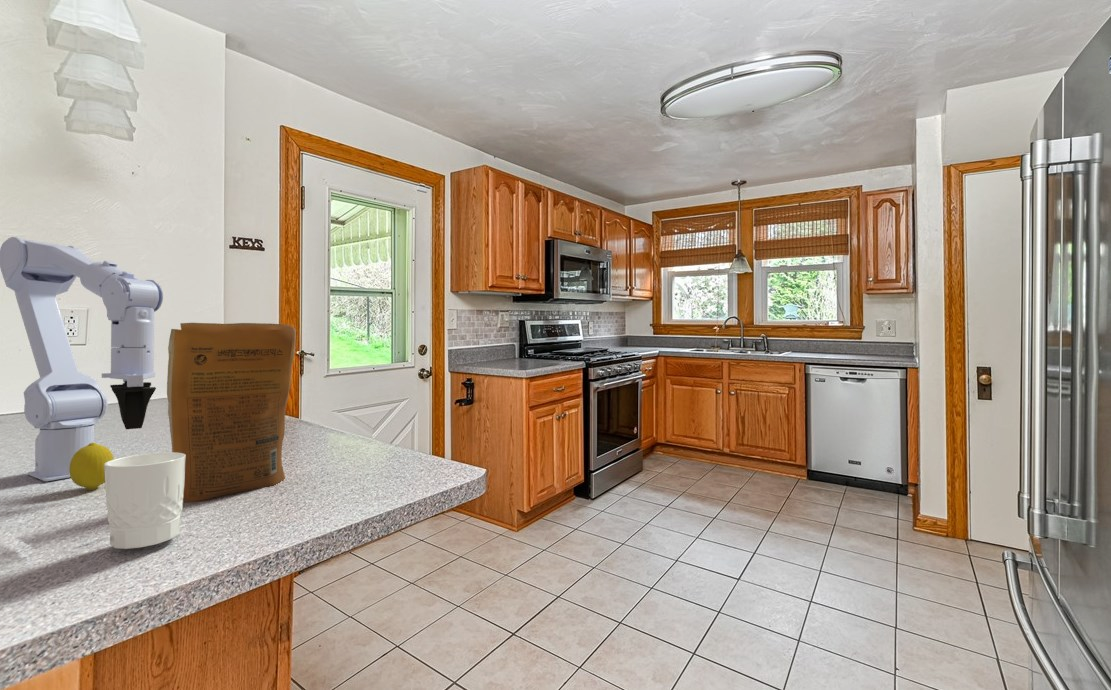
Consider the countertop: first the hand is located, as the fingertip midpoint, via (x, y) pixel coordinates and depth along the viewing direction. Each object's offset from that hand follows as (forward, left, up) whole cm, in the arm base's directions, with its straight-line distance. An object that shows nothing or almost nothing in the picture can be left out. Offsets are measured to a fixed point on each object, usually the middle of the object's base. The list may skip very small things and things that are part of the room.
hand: (132, 425), depth 87 cm
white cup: (+32, -10, -11) cm, 35 cm away
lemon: (-1, -5, -11) cm, 12 cm away
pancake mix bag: (+20, +7, -11) cm, 24 cm away
